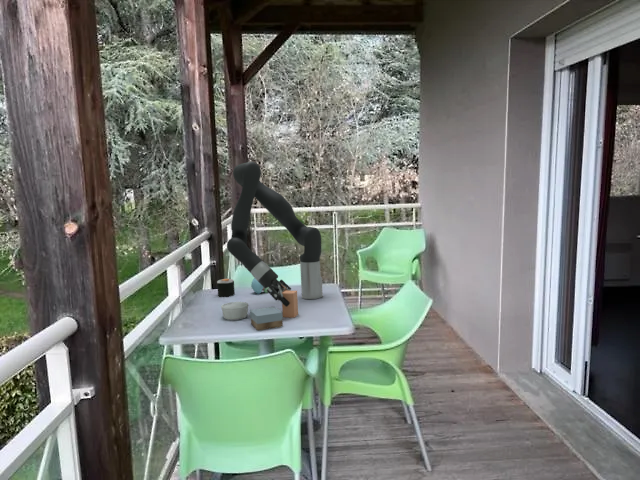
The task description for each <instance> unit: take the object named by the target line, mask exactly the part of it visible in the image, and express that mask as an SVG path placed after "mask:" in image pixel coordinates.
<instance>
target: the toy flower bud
mask: <svg viewBox="0 0 640 480" xmlns="http://www.w3.org/2000/svg"><path fill="white" fill-rule="evenodd" d="M250 285H251V289H252V291H253V292H254V293H256V294H257V295H259V294H261V293H262V292H264V294H269V293H268V292H267V289H268V288H269V287H268V288H266V289H265V288H264V287H263V286H262V285H261V284H260V283H259V282H258V281H257V280H256V279H255V278H254V277H253V279H252V281H251V284H250Z"/></svg>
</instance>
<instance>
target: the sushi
mask: <svg viewBox="0 0 640 480" xmlns="http://www.w3.org/2000/svg"><path fill="white" fill-rule="evenodd" d="M216 285H217V297H218V296H219V298H228V297H229V296H230V297H234V296H235V280H234V279H233V278H223V279H219V280H217V281H216Z"/></svg>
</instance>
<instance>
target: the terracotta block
mask: <svg viewBox="0 0 640 480" xmlns="http://www.w3.org/2000/svg"><path fill="white" fill-rule="evenodd" d="M282 294H283V297H285V298H286V299H287V300H288V301H289V302H290V304H289V305H288V306H287V307H286V306H285V305H284V304H283V303H282V302H281V306H282V309H281V312H282V317H283V318H291V319H292V318H296V317H297V316H298V315H299V302H298V300H299V299H298V290H291V291H288V290H286V291H284V292H283V293H282Z"/></svg>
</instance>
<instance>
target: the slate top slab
mask: <svg viewBox="0 0 640 480" xmlns="http://www.w3.org/2000/svg"><path fill="white" fill-rule="evenodd" d="M249 318H250V320H251V319H252V320H253V321H255V322H256V323H257V324H261V323H267V322H274V321H280V320H282V321H283V318H284V317H283V311H282V310H279V309H278V308H277V307H275V306H268V307H262V308H261V307H260V308H256V309H254V308H253V309H249Z"/></svg>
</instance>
